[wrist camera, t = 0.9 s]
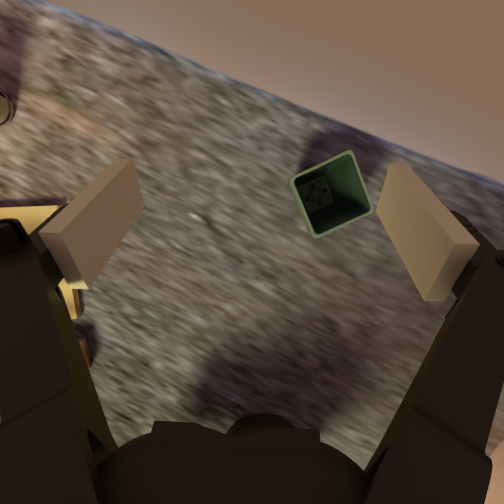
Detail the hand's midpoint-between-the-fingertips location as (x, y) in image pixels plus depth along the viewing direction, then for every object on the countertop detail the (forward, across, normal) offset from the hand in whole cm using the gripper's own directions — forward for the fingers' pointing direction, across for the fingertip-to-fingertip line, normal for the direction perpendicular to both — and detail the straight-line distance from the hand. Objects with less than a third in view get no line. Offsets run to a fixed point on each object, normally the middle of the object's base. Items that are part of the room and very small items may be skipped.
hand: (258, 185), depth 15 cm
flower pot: (+28, -8, +15) cm, 33 cm away
